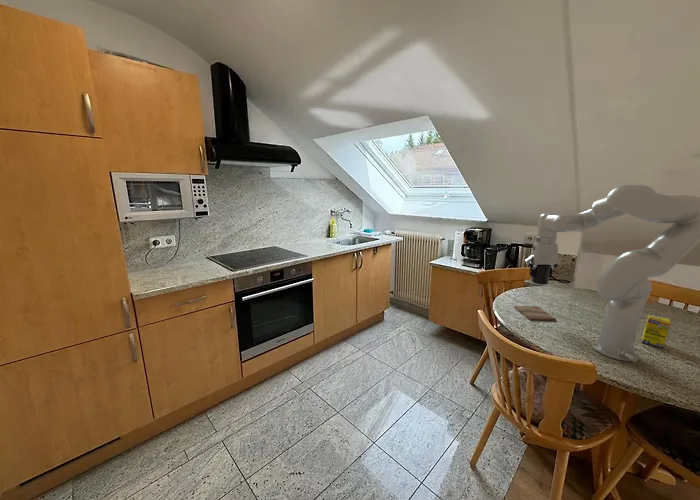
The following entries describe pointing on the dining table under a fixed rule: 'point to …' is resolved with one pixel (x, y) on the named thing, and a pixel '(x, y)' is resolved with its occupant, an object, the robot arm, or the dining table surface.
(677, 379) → the dining table surface
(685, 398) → the dining table surface
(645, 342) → the supplement box
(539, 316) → the walnut board
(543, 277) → the supplement bottle
